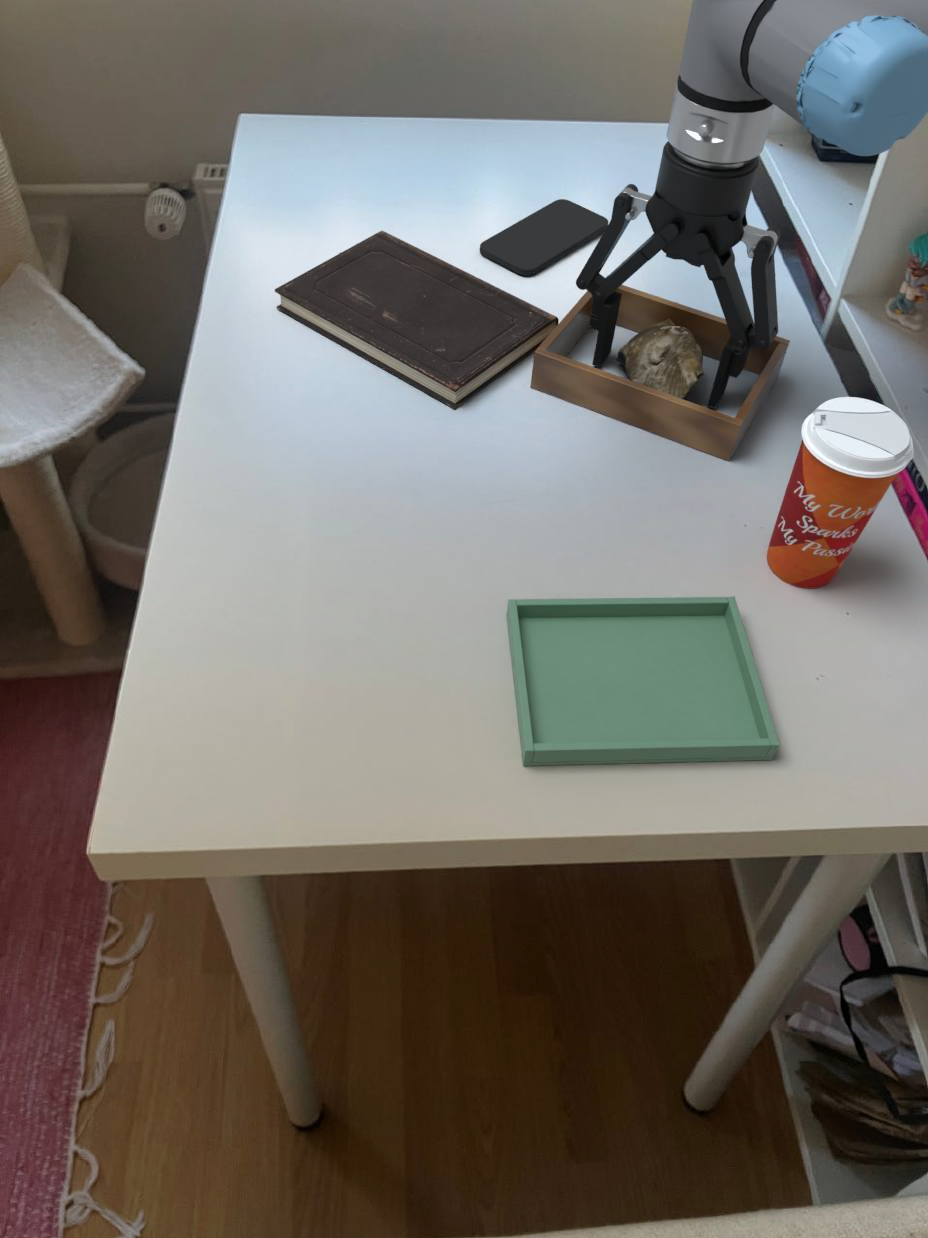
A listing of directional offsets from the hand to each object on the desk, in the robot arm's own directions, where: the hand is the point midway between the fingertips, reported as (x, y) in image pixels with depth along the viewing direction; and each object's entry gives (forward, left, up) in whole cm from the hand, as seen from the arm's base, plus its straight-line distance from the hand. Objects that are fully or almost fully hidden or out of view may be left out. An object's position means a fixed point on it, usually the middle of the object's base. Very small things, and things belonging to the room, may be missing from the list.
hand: (657, 378), depth 95 cm
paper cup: (-19, +16, 0) cm, 25 cm away
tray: (-12, +34, 0) cm, 36 cm away
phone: (+20, -17, 0) cm, 26 cm away
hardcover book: (+24, +4, 0) cm, 24 cm away
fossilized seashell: (0, 0, 0) cm, 0 cm away
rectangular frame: (0, 0, 0) cm, 0 cm away
